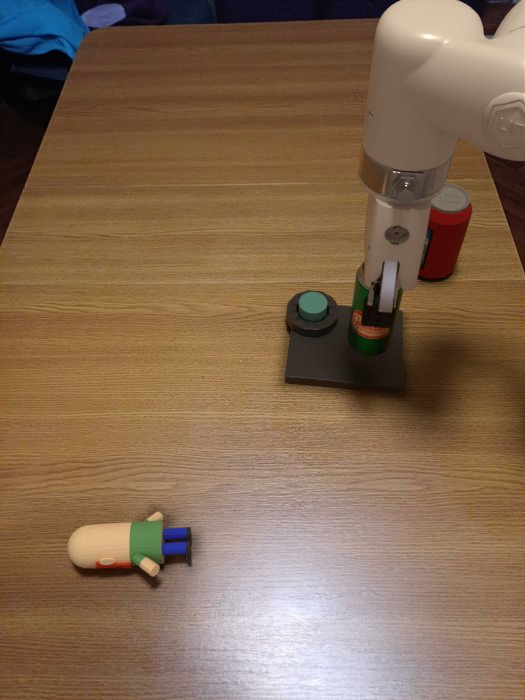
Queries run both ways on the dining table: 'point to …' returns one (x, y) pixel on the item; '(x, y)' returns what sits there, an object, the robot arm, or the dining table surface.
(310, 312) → the button
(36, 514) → the dining table surface
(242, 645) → the dining table surface
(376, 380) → the scale
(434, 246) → the beverage can
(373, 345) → the soda can
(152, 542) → the toy figurine
